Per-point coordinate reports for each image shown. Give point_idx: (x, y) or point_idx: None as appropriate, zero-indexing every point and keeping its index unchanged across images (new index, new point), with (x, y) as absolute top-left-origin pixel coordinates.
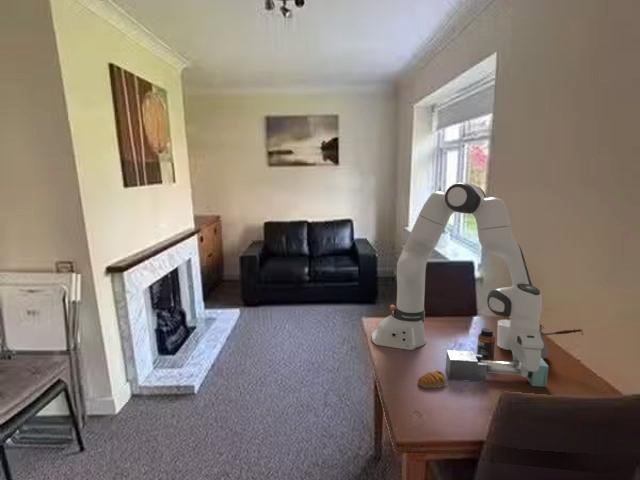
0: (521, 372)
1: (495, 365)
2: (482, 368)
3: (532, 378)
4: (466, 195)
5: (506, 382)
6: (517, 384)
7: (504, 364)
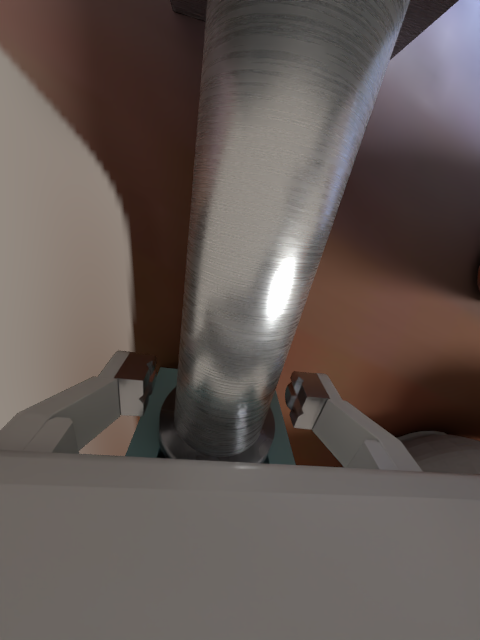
0: (116, 368)
1: (219, 93)
2: None
3: (150, 400)
4: None
5: (187, 240)
6: (167, 301)
7: (217, 258)
